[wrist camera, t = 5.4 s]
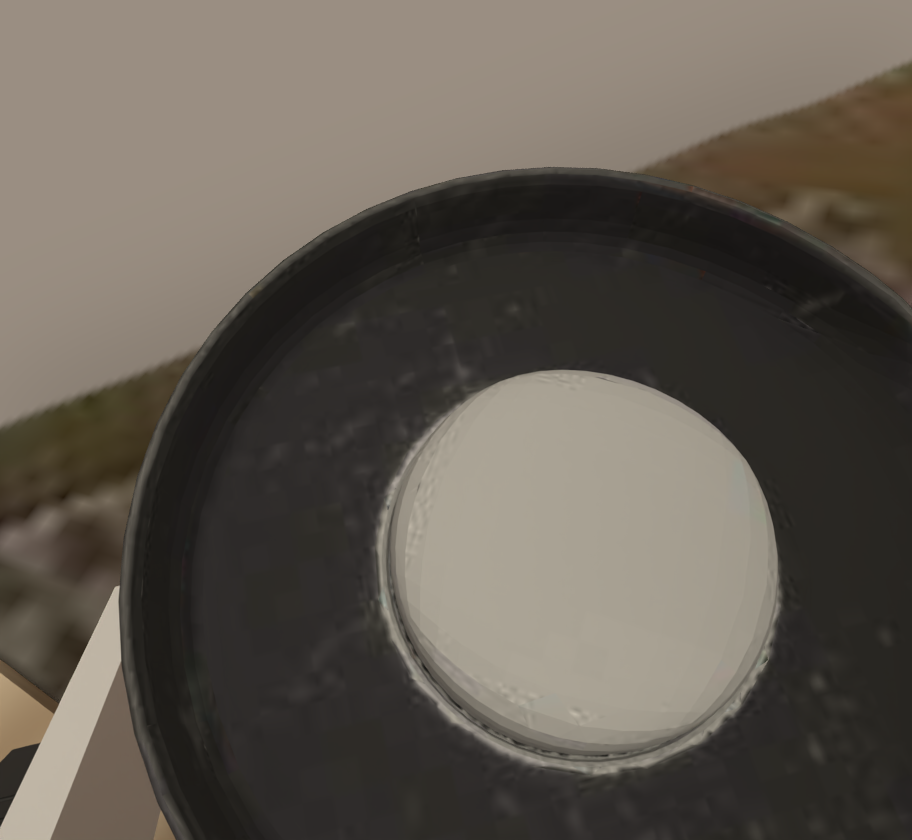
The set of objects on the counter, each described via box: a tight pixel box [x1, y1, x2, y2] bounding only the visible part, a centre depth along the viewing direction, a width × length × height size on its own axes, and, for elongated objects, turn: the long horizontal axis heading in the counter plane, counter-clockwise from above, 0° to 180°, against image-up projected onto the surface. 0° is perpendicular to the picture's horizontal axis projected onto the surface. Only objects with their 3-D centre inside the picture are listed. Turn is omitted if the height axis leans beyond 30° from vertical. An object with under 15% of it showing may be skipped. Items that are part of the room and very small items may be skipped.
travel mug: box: [118, 167, 912, 840], centre depth 15 cm, size 8×8×20 cm
